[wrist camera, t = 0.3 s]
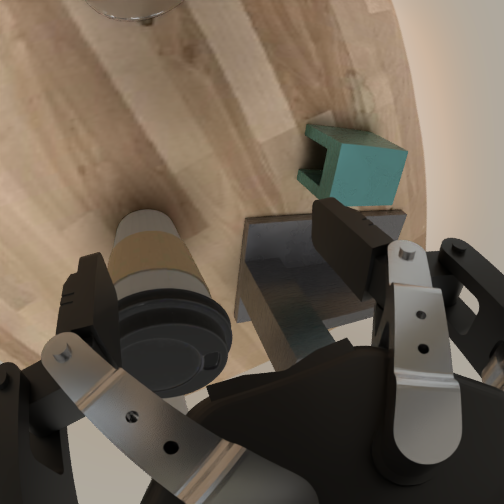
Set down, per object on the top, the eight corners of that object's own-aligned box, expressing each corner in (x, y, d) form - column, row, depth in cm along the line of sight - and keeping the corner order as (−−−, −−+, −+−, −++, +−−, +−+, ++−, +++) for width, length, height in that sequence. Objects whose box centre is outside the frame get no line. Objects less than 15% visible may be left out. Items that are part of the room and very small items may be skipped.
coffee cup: (207, 249, 33) (257, 370, 22) (127, 288, 32) (144, 416, 21) (168, 172, 27) (205, 286, 15) (78, 220, 26) (57, 354, 15)
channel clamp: (296, 179, 32) (327, 207, 27) (306, 124, 28) (341, 143, 24) (358, 180, 34) (391, 205, 30) (370, 131, 31) (408, 151, 27)
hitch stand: (245, 218, 32) (311, 320, 22) (401, 209, 40) (476, 274, 29) (233, 316, 40) (276, 412, 30) (370, 289, 48) (424, 356, 37)
